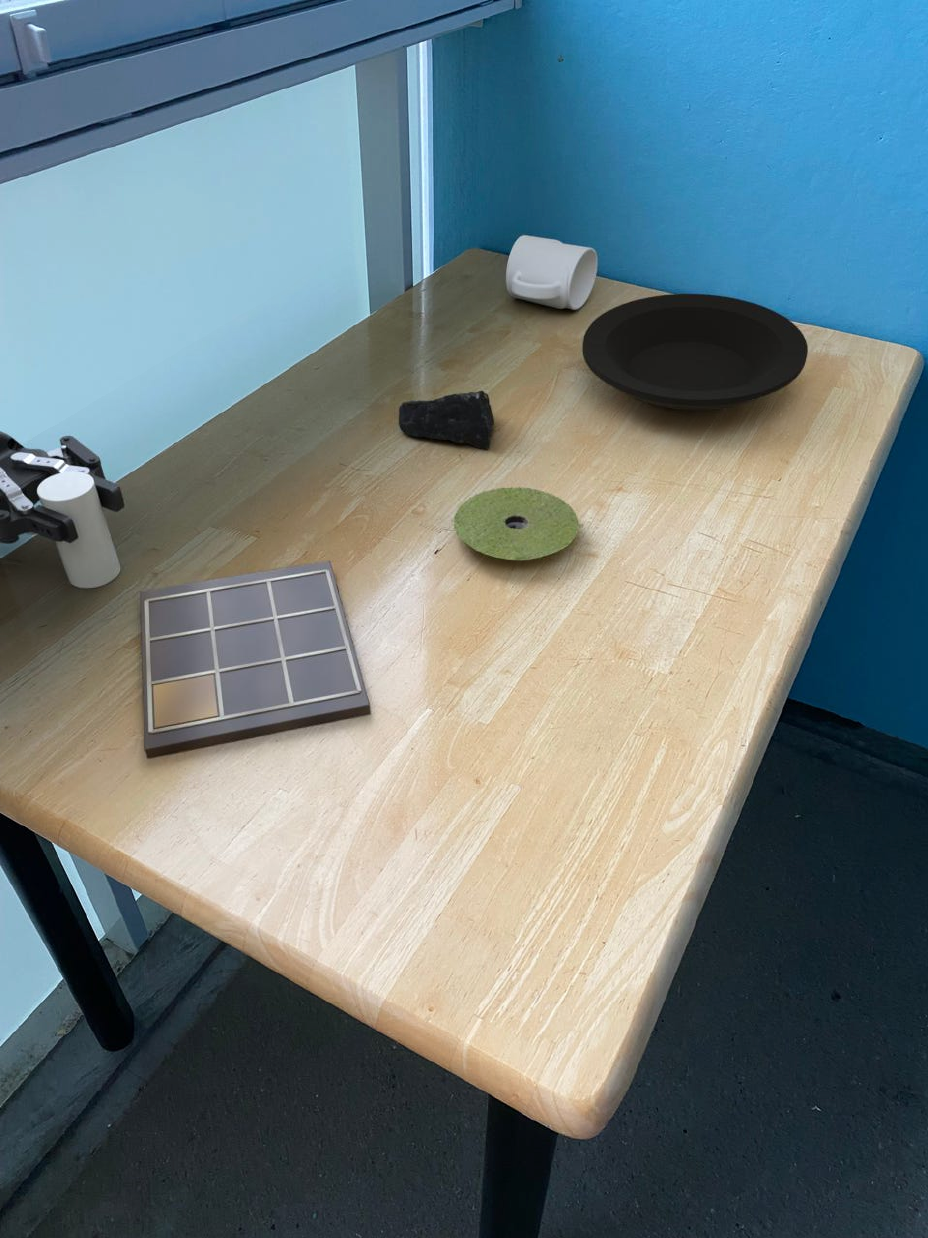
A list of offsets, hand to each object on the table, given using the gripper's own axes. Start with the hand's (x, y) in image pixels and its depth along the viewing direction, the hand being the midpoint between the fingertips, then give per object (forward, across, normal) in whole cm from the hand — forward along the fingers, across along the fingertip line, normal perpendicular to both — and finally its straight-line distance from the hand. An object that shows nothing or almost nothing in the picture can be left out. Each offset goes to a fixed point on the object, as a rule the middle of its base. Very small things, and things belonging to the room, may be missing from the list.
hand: (96, 515), depth 76 cm
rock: (+12, +36, +7) cm, 39 cm away
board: (+16, -1, +7) cm, 17 cm away
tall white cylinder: (-3, 0, +7) cm, 8 cm away
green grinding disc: (+27, +23, +7) cm, 36 cm away
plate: (+31, +58, +7) cm, 66 cm away
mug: (+7, +71, +7) cm, 72 cm away
